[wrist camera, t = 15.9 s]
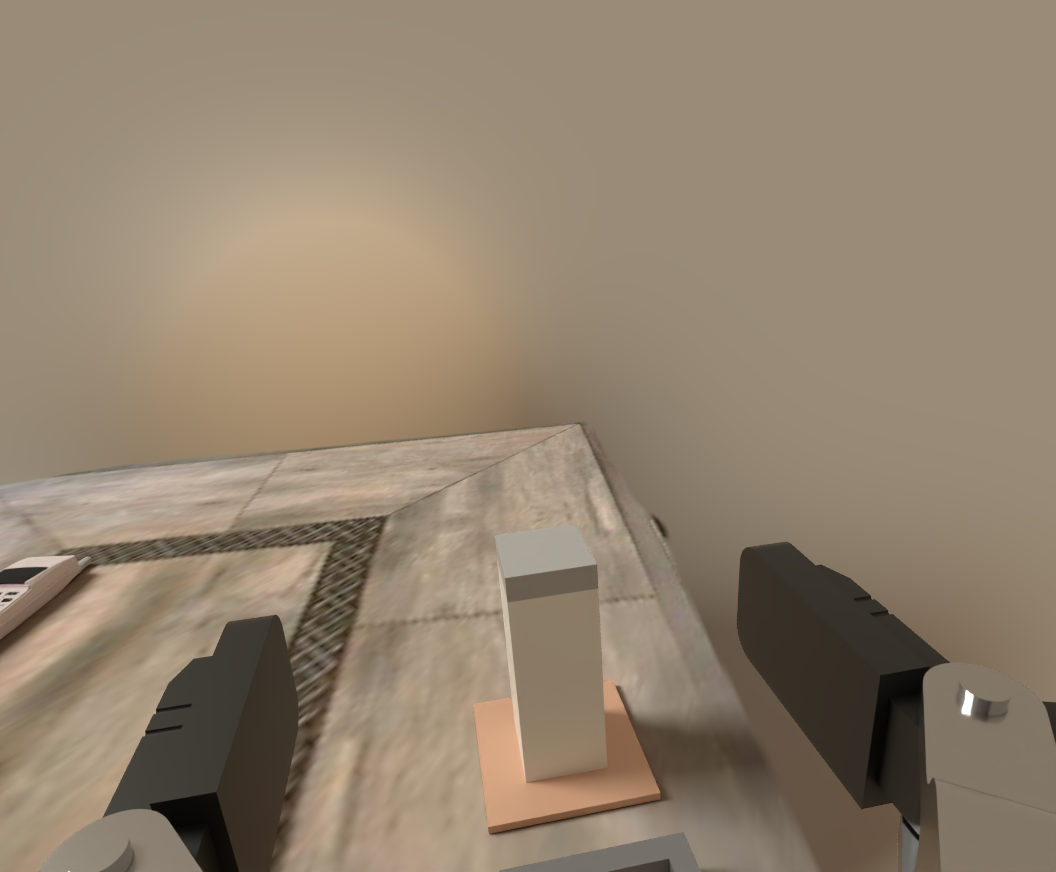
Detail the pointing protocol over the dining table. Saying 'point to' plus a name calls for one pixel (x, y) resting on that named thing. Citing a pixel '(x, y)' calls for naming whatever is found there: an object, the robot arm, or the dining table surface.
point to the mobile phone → (33, 586)
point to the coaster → (562, 795)
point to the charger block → (553, 650)
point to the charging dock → (625, 858)
